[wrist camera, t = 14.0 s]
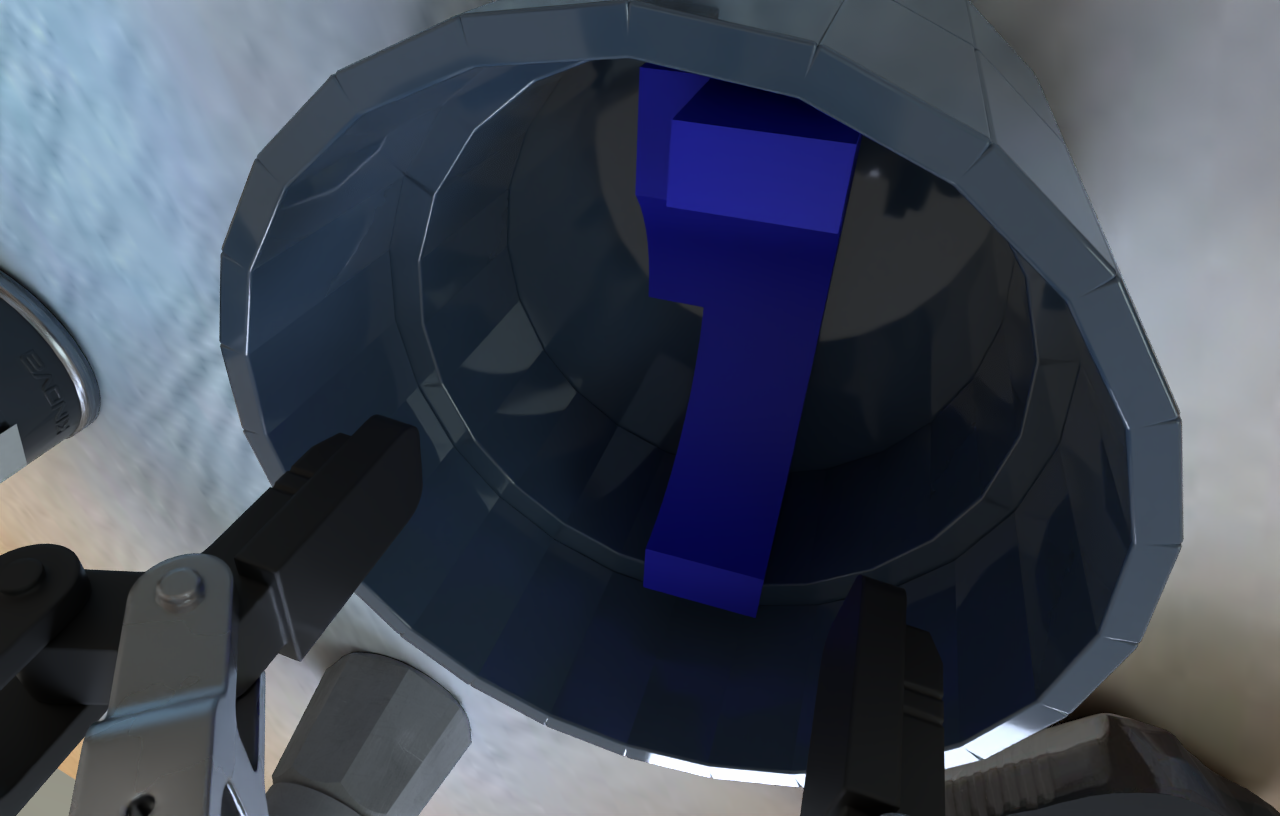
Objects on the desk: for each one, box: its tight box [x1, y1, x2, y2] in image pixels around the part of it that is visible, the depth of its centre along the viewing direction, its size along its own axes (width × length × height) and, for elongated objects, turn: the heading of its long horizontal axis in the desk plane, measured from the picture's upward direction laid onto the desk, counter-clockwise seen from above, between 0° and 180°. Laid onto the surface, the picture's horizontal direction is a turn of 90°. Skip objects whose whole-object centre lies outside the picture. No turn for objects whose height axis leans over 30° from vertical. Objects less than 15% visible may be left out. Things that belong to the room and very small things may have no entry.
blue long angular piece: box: [635, 63, 862, 618], centre depth 18 cm, size 12×4×6 cm, turn 178°
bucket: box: [220, 0, 1184, 787], centre depth 17 cm, size 16×16×10 cm
